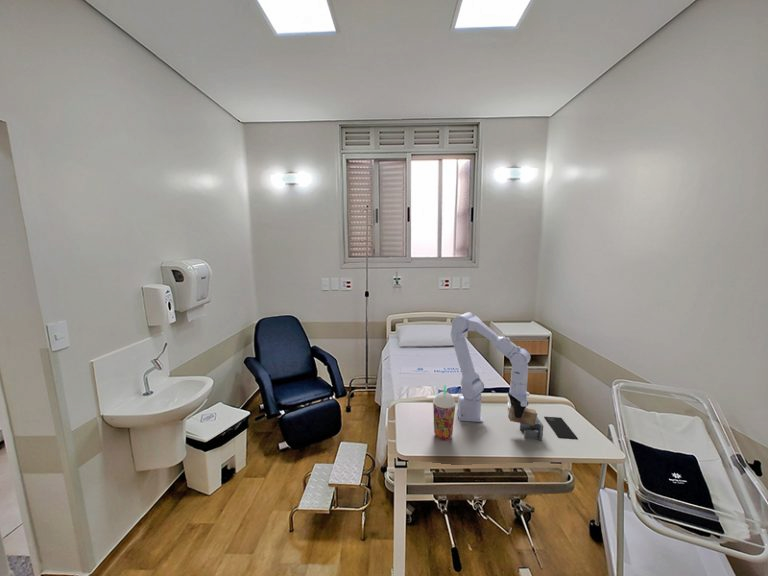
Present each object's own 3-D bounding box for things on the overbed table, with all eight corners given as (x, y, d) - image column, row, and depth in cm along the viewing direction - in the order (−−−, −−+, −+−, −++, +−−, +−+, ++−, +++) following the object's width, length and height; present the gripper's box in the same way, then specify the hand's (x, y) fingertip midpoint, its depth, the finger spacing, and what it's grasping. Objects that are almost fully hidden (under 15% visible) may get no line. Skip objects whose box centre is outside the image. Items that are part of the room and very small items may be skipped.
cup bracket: (525, 439, 118) (526, 424, 117) (518, 427, 126) (519, 413, 125) (542, 440, 117) (543, 425, 117) (534, 428, 125) (535, 414, 124)
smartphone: (579, 440, 118) (561, 418, 133) (579, 438, 118) (561, 416, 133) (558, 439, 119) (542, 417, 134) (558, 437, 119) (542, 415, 134)
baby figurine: (518, 417, 134) (506, 399, 136) (506, 413, 146) (495, 397, 147) (534, 406, 135) (522, 388, 137) (520, 403, 147) (510, 387, 149)
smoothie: (428, 436, 119) (429, 386, 117) (438, 426, 126) (440, 379, 123) (448, 445, 114) (450, 393, 112) (458, 434, 121) (460, 385, 118)
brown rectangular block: (510, 421, 120) (513, 408, 119) (508, 416, 123) (510, 404, 122) (534, 425, 120) (537, 413, 119) (531, 421, 122) (534, 409, 122)
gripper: (537, 390, 112) (534, 426, 114) (523, 374, 126) (521, 406, 128) (516, 389, 113) (514, 424, 114) (505, 373, 127) (503, 404, 129)
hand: (516, 414), depth 121 cm, fingers closed on brown rectangular block, 3 cm apart
